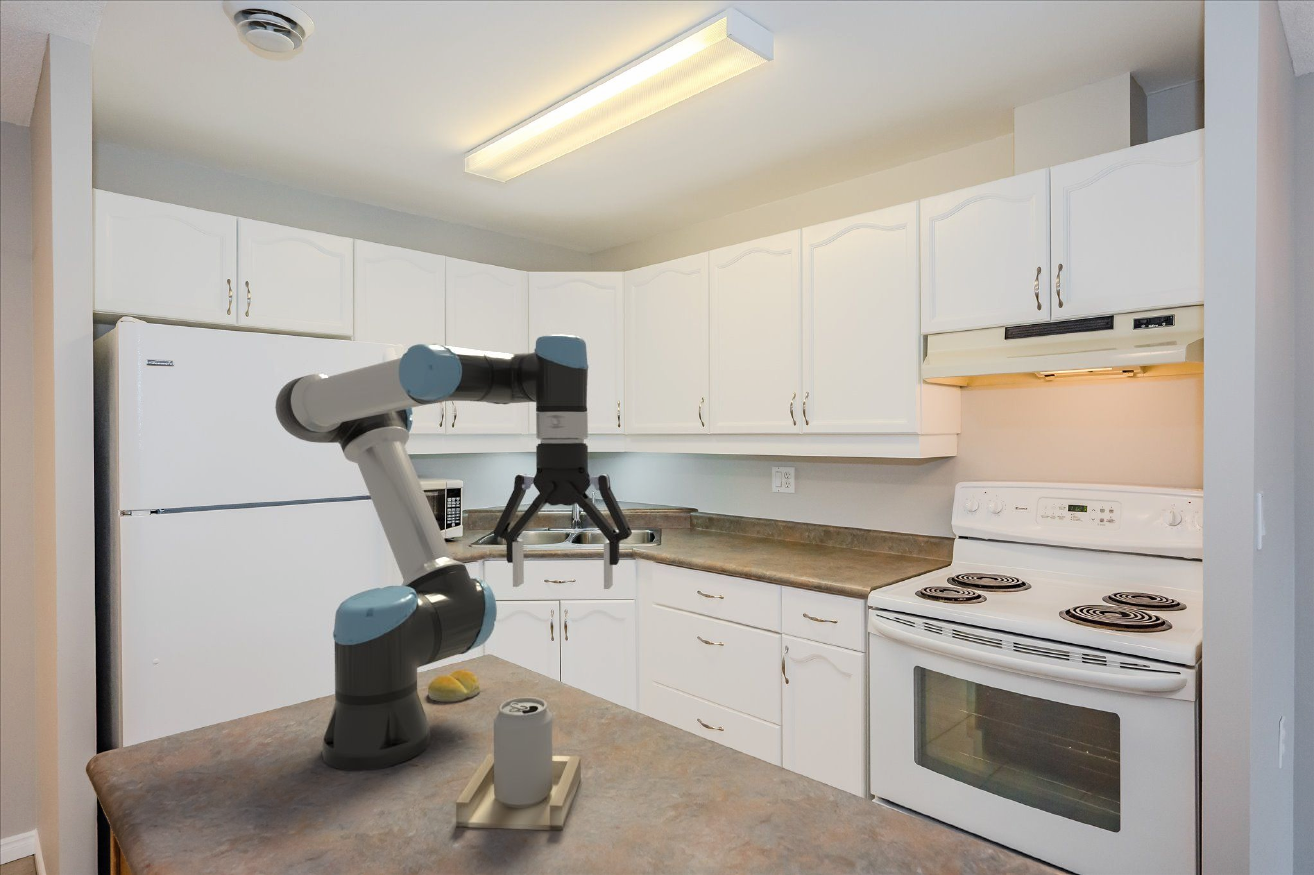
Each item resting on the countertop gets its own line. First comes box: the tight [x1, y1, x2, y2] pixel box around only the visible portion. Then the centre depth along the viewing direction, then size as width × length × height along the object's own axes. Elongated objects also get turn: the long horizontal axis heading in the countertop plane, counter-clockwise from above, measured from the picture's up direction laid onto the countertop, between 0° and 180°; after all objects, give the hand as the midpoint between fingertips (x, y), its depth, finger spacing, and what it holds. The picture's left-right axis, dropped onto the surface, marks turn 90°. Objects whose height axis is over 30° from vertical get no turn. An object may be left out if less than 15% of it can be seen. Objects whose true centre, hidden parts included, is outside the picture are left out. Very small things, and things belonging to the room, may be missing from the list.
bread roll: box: [427, 669, 481, 703], centre depth 131 cm, size 8×9×4 cm
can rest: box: [455, 753, 582, 831], centre depth 93 cm, size 13×13×3 cm
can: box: [493, 696, 553, 808], centre depth 93 cm, size 8×8×12 cm
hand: (562, 586), depth 105 cm, fingers open, 13 cm apart
